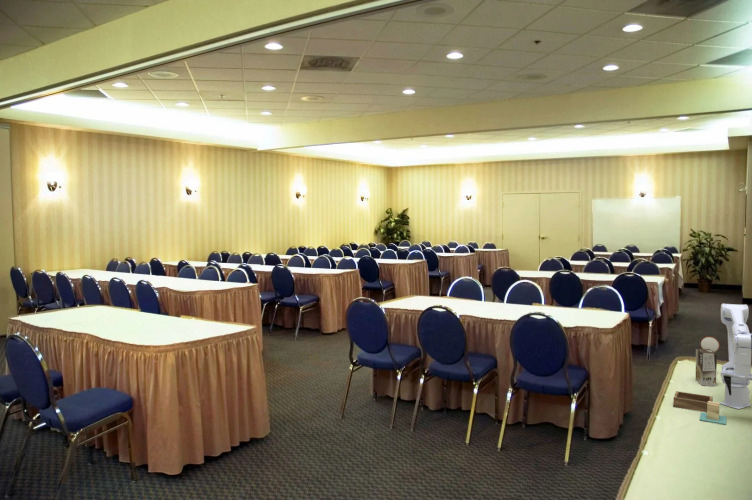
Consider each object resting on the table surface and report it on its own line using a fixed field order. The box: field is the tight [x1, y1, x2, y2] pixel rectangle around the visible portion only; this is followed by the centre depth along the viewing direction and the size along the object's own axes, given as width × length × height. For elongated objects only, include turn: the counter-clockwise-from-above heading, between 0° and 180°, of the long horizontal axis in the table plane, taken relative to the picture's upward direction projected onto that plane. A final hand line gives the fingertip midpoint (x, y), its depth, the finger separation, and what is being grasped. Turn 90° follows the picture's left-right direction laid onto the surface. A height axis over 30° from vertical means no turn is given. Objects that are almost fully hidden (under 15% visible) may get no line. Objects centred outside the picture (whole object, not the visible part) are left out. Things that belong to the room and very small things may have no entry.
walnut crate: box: [672, 390, 714, 413], centre depth 236 cm, size 10×14×4 cm
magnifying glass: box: [699, 335, 721, 353], centre depth 277 cm, size 9×2×20 cm, turn 53°
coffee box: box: [695, 348, 718, 387], centre depth 265 cm, size 9×6×16 cm
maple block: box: [706, 401, 720, 420], centre depth 221 cm, size 4×4×6 cm
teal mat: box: [699, 411, 727, 426], centre depth 222 cm, size 9×9×1 cm
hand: (741, 396), depth 221 cm, fingers open, 7 cm apart
